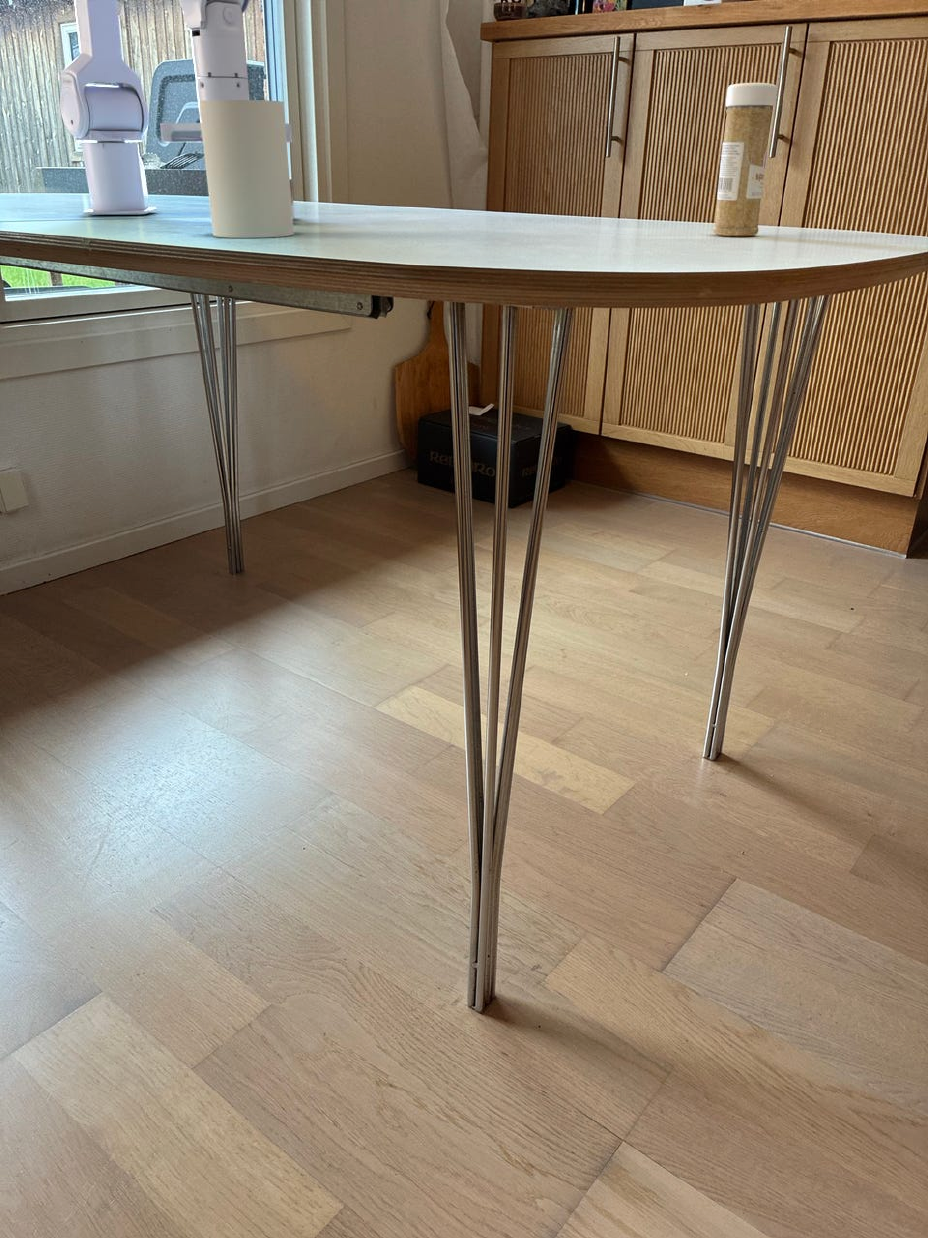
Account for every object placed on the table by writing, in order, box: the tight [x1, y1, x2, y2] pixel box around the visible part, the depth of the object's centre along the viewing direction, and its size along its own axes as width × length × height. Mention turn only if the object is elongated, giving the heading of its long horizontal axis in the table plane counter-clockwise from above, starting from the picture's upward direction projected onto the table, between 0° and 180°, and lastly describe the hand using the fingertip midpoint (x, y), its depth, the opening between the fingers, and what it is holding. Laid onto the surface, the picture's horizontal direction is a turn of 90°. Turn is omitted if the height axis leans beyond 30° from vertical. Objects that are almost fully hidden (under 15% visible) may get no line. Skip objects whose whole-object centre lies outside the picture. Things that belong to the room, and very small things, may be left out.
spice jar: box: [712, 82, 777, 237], centre depth 93 cm, size 5×5×13 cm
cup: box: [197, 99, 294, 239], centre depth 94 cm, size 8×8×12 cm
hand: (235, 210), depth 111 cm, fingers closed
